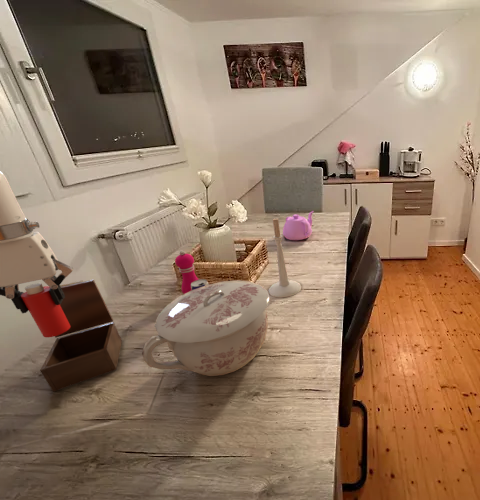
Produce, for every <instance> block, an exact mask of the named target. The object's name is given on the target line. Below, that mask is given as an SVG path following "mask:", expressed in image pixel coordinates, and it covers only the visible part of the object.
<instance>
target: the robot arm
mask: <svg viewBox="0 0 480 500" xmlns="http://www.w3.org/2000/svg"><path fill="white" fill-rule="evenodd" d="M35 229H40V224H39V222H38V221H30V220H29V219H28V218H26V215H25V213H24V212H23V210H22V207H21V205H20V203H19V201H18V199H17V197H16V194H15V192H14V191H13V189H12V187H11V185H10V183H9V181H8V179H7V177H6V176H5V174H4V173H3V172H2V171H0V296H3V297H5V298H6V299H7V300H11V302H12V303H13V305H14V307H15V308H16V310H19V311H20V312H21V314H27V313H28V312H29V310H28V308H27V307H26V305H25V303H24V301H23V299H22V298H21V295H22V294H23V293H24V292H23V291H20V286H19V285H20V284H21V285H22V284H26V283H30V282H36V281H40V280H41V281H42V282H43V283H44V284H46V286H49V287H50V290H49V293H50V295H51V297H52V299H53V301H54V302H55V304H56V305H60V304H61V303H62V301H63V299H64V298H65V295H64V293H63V291H62V289H61V287H60V285H62V283H63V281H64V280H65V279H66V278H67V277H68V276H69V275H71V273H72V272H73V271H74V268H73V266H70V265H68V264H66V263H64V262H62V261H60V260H59V259H58V257H57V255H56V254H55V252H54V250H53V249H52V248H51V246H50V245H49V244H48V242H47V240H46V239H45V238H44V237H43V235H42V234H41V233H40V232H39V231H34V230H35ZM57 271H60V273H59V274H58V276H56V274H57Z"/></svg>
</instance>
